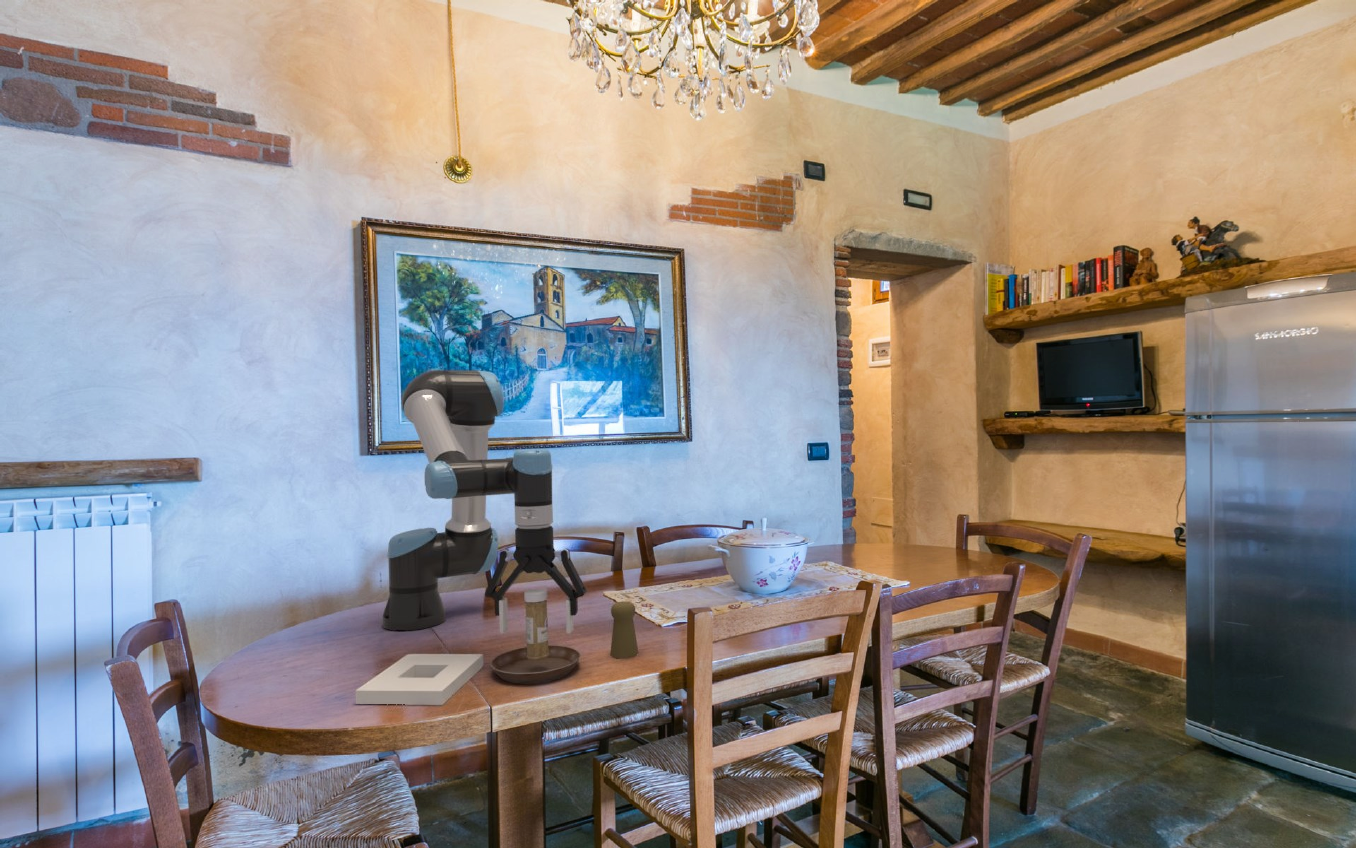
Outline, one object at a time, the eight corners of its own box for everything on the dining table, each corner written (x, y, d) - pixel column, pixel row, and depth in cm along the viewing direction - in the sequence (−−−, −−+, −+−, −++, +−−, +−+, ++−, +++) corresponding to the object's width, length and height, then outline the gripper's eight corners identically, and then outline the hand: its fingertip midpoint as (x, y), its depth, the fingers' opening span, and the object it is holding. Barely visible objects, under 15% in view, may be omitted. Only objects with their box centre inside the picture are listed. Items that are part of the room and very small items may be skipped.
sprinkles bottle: (549, 659, 138) (547, 591, 139) (526, 662, 137) (524, 593, 137) (548, 652, 143) (546, 587, 143) (526, 655, 142) (523, 588, 142)
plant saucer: (484, 666, 144) (484, 651, 145) (568, 653, 152) (567, 639, 152) (498, 695, 128) (498, 679, 128) (591, 679, 135) (591, 664, 135)
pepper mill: (616, 660, 145) (615, 607, 145) (605, 652, 150) (604, 601, 150) (643, 655, 147) (641, 603, 147) (631, 647, 153) (630, 597, 153)
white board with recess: (408, 666, 144) (408, 654, 144) (483, 666, 143) (483, 654, 143) (355, 704, 125) (355, 690, 125) (442, 705, 123) (441, 691, 123)
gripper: (466, 529, 138) (469, 637, 137) (591, 527, 135) (593, 637, 135) (480, 524, 145) (483, 626, 145) (598, 522, 143) (601, 626, 143)
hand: (536, 631), depth 140 cm, fingers open, 13 cm apart
